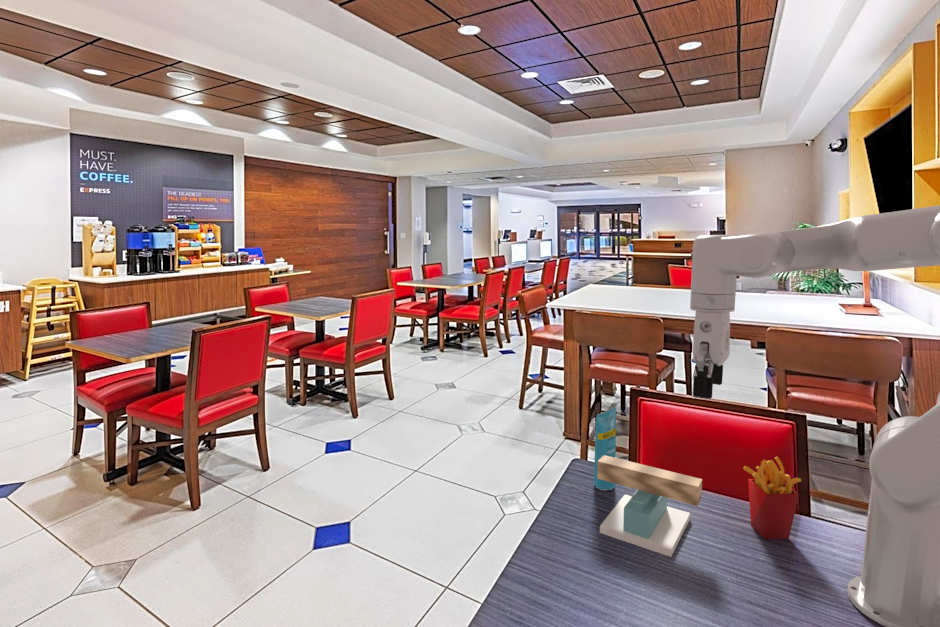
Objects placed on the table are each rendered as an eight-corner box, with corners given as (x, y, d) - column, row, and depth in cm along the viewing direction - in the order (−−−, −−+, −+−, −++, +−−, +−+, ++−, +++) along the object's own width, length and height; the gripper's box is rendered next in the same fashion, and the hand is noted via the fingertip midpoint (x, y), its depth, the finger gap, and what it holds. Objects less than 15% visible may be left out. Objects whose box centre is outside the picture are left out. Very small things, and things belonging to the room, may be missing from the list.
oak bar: (701, 498, 99) (702, 479, 99) (697, 506, 96) (698, 486, 96) (603, 472, 111) (603, 454, 110) (597, 478, 108) (597, 461, 107)
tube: (605, 496, 117) (606, 417, 114) (587, 488, 121) (588, 412, 118) (621, 484, 122) (623, 408, 119) (603, 477, 126) (605, 404, 123)
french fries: (796, 541, 99) (803, 469, 96) (754, 542, 99) (759, 470, 96) (770, 516, 107) (775, 449, 105) (731, 517, 107) (735, 450, 105)
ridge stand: (689, 519, 107) (691, 482, 106) (671, 557, 95) (672, 515, 94) (624, 500, 115) (625, 465, 114) (599, 532, 103) (600, 494, 102)
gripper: (726, 309, 85) (720, 407, 88) (742, 297, 99) (737, 381, 101) (679, 307, 89) (675, 399, 92) (700, 295, 103) (697, 376, 106)
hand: (707, 390), depth 97 cm, fingers open, 9 cm apart
